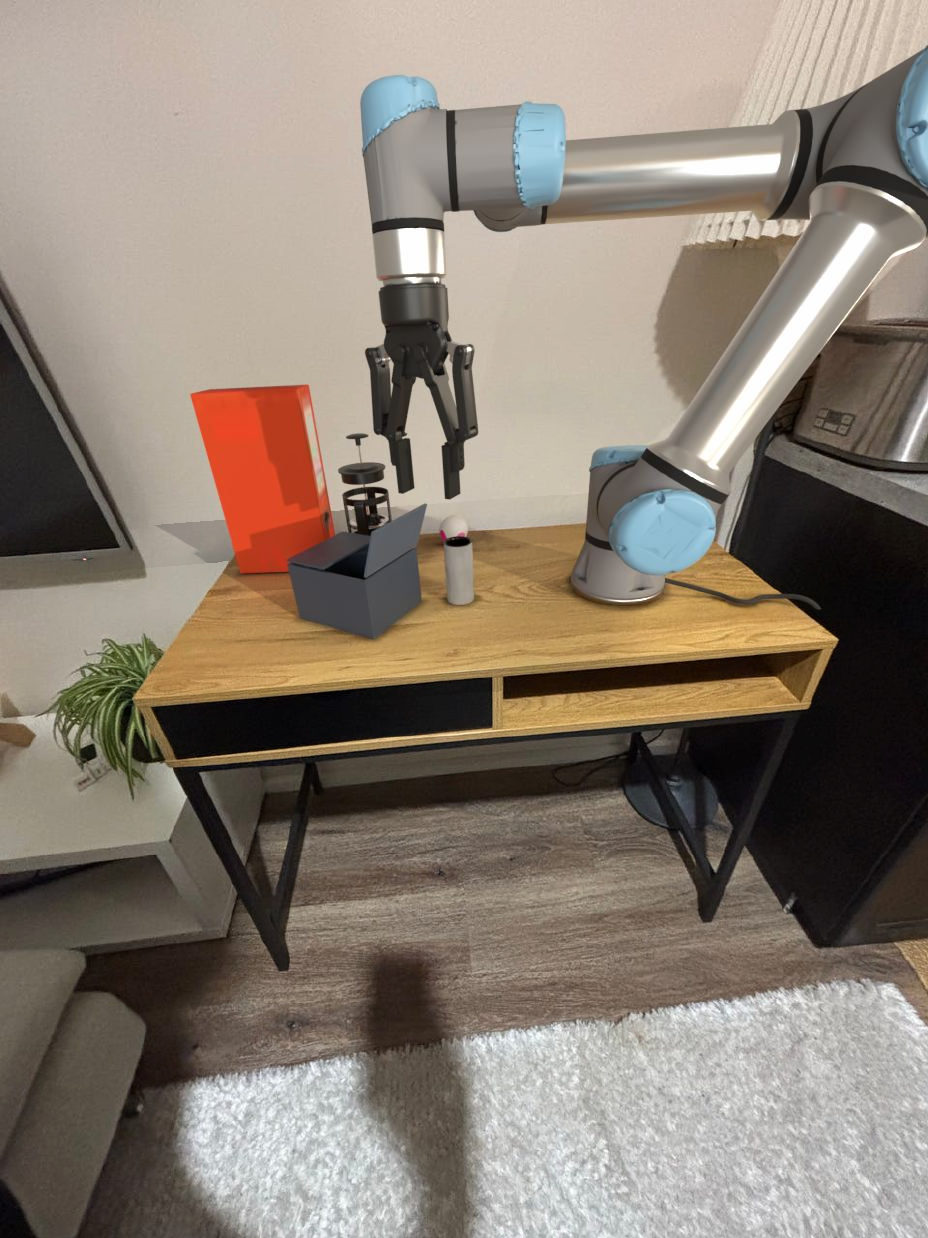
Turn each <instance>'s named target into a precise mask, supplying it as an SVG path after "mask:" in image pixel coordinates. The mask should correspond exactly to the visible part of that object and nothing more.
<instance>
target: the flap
mask: <svg viewBox="0 0 928 1238" xmlns="http://www.w3.org/2000/svg"><path fill="white" fill-rule="evenodd" d="M427 507H428V504H427V502H426V503H423V504H421V505H419V506H417V507H415V508H413V509H412V510H410V511H408V512H406V513H404V514H402V515H401V516H398V517H397V518H395V519H392V521H391V522H389V523H387V524H385V525H384V526H382V527H380V528H378V529H376V530H374V531H372V532H371V537H370V543H369V549H368V555H367V561H366V567H365V572H364V577H365V578H367V577H368V576H370V575H371V574H373V573H374V572H376V571H378V570H379V569H381V568H382V567H384V566H385V565H387V564H389V563H390V562H392V561H393V560H395V559H397V558H398V557H400V556H401V555H403V554H404V553H406V552H408V551H409V550H411V549H412V548H415V547H417V546H418V544H419V539H420V537H421V536H420V535H421V532H422V528H423V523H424V519H425V515H426V511H427Z"/></svg>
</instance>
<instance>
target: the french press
mask: <svg viewBox="0 0 928 1238" xmlns="http://www.w3.org/2000/svg"><path fill="white" fill-rule="evenodd" d="M369 436H370V435H369V434H367V433H363V432H360V433H359V432H358V433H351V434H347V435H346V436H345V439H347V440H354V442H355V446H356V447H357V451H358V452H357V453H358V460H359V462H355V463H350V464H346V465H343V466H341V467H339V468H338V469H337V472H338V474H339V475H341V476H340V477H341V482H342V483H343V484H346V485H350V486H361V487H356V488H351V489H349V490H346V491H344V492H343V493H342V495H341V496H342V501H343V503H342V504H343V509H344V514H345V520H346V526H347V532H349V533H355V534H361V535H367V536H371V532H372V531H374V530H376V529H378V528H380V527H382V526H384V525H385V524H387V523H389V522H391V521H393V519H392V509H391V502H390V493H389V489H387V488H385V487H382V486H366V485H371V484H376V483H378V482H381V481H383V480H384V479H385V471H384V470H385V469H386V465H385V464H384V463H381V462H373V461H371V462H370V461H369V462H362V461H363V459H362V453H361V447H360V446H361V445H362V443H361V440H362V439H366V438H368V437H369ZM362 485H363V486H362ZM376 494H379V496H377V497H376ZM359 495H364V499H352V497H354V496H359ZM380 495H381V496H380ZM385 502H386V505H387V514H384V513H379V512H378V505H380V504H384V503H385ZM348 506H349V507H353V510H354V516H353V517H351V518H350V512H349V507H348ZM352 530H355V531H352Z"/></svg>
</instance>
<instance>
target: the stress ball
mask: <svg viewBox="0 0 928 1238" xmlns="http://www.w3.org/2000/svg"><path fill="white" fill-rule="evenodd" d="M438 531H439V536H440V538H441V540H442V541H443V542H444V541H445V540H446V539H447V538H450V537H455V536H463V537H468V534H469V525H468V523H467V521H466V519H464V518H463V517H462V516H461V515H455V514H454V515H449V516H447V517H446V518H444V519H443V520H442V521H441V522H440V525H439V530H438ZM443 542H439V543H437V545H440V544H443Z"/></svg>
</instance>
